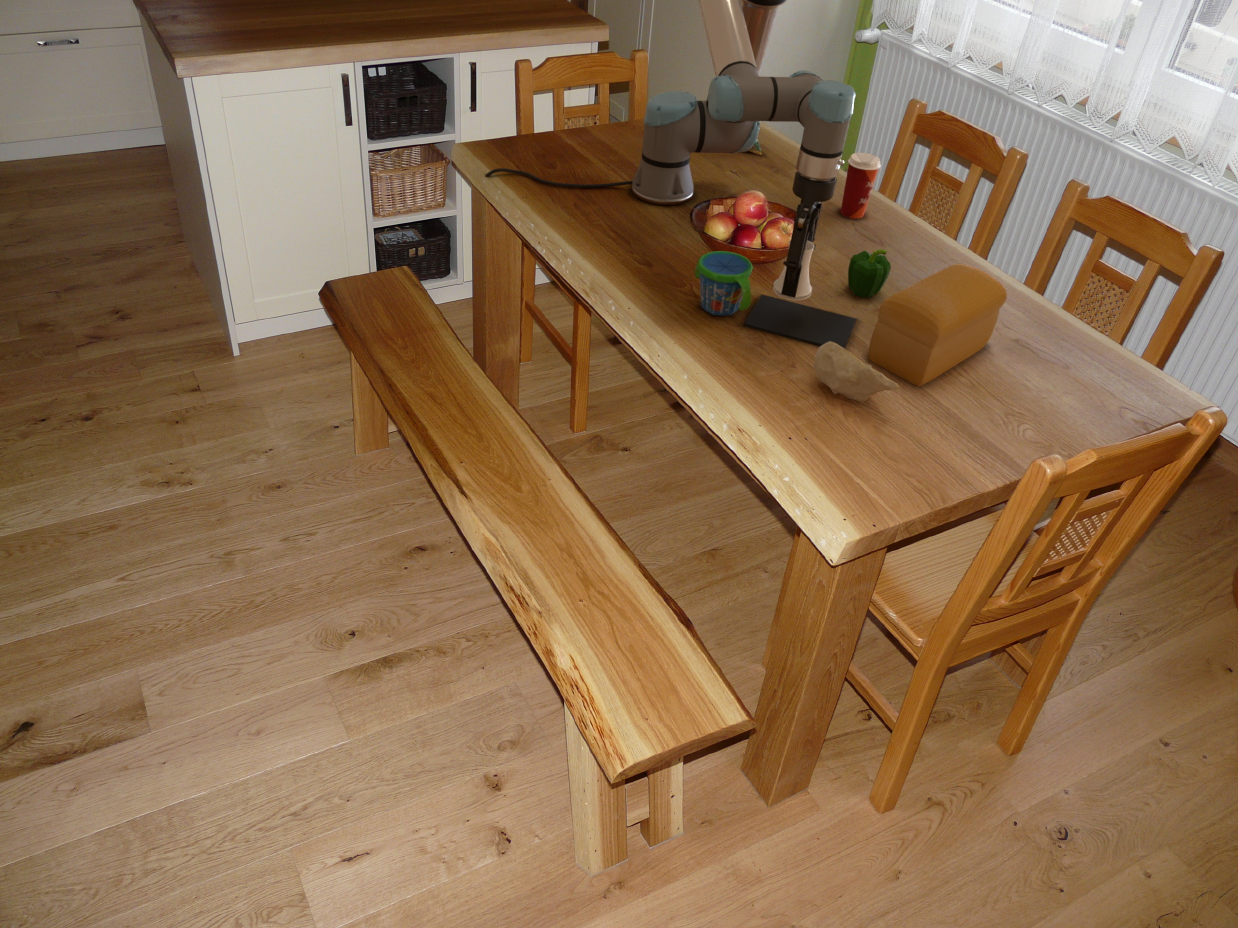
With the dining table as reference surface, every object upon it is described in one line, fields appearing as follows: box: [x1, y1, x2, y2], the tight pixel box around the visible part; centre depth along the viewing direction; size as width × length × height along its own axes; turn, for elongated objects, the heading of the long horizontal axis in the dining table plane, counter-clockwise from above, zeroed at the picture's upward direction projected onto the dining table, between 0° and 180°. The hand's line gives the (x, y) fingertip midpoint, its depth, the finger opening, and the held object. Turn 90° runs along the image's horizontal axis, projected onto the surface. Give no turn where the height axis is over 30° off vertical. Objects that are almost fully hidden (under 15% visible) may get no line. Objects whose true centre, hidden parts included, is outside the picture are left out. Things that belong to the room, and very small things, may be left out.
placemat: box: [743, 294, 857, 349], centre depth 186 cm, size 20×13×1 cm, turn 68°
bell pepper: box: [847, 249, 892, 299], centre depth 194 cm, size 8×8×10 cm
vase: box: [772, 240, 815, 301], centre depth 179 cm, size 8×8×10 cm
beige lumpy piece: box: [813, 341, 900, 403], centre depth 167 cm, size 15×7×15 cm
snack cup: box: [694, 250, 754, 317], centre depth 185 cm, size 16×10×10 cm
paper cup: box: [840, 152, 882, 220], centre depth 223 cm, size 8×8×14 cm
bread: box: [868, 263, 1008, 387], centre depth 176 cm, size 24×13×15 cm, turn 132°
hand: (792, 287), depth 182 cm, fingers closed on vase, 6 cm apart
